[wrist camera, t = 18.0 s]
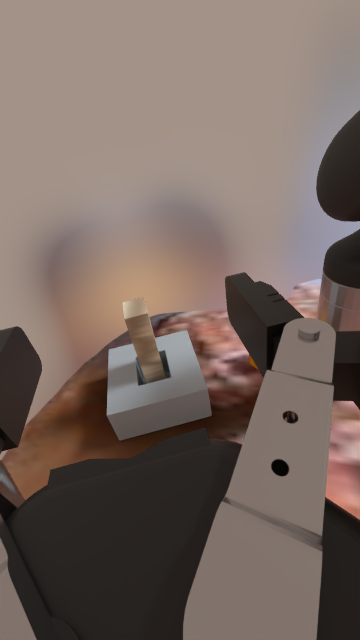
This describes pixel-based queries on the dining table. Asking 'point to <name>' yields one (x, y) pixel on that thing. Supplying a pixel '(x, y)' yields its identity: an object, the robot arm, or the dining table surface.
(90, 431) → the dining table surface
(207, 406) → the grey square socket block
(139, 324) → the wooden bar
